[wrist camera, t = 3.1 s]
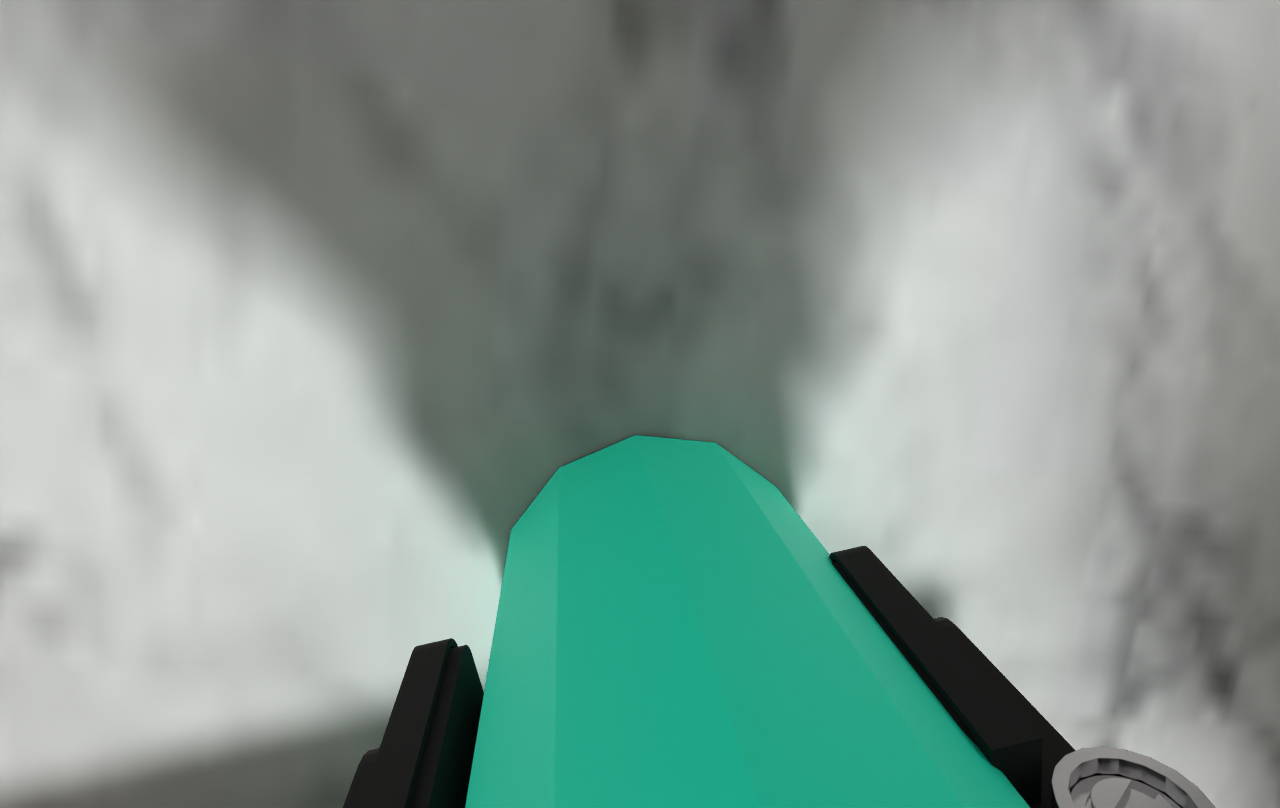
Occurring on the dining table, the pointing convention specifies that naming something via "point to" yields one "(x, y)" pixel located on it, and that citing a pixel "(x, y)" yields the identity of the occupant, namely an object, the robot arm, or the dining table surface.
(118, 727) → the dining table surface
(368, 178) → the dining table surface
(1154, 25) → the dining table surface
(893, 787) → the candle
